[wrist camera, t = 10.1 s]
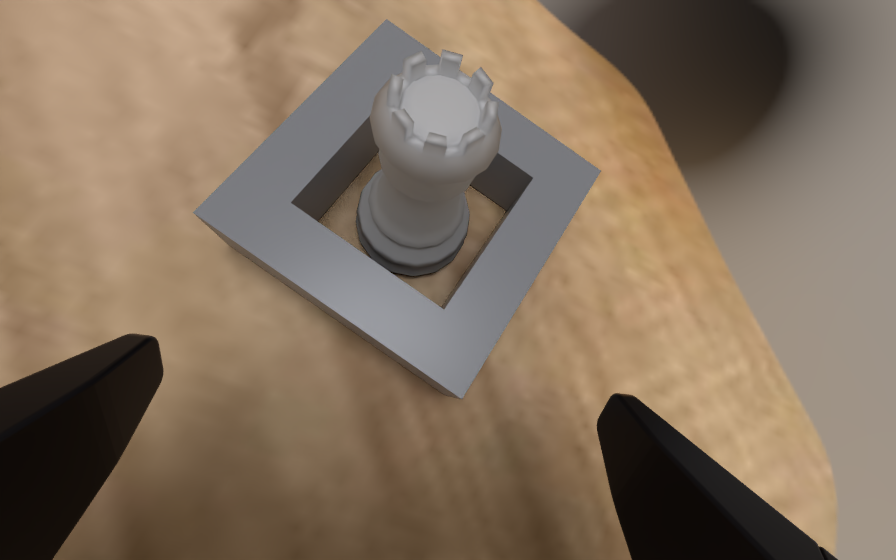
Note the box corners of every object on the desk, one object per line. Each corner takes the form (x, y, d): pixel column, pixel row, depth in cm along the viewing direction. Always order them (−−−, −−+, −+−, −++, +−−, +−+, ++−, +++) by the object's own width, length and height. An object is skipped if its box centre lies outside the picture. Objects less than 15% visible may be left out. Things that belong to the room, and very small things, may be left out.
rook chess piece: (338, 253, 16) (304, 136, 8) (381, 161, 17) (388, -16, 9) (442, 295, 16) (506, 222, 8) (477, 202, 17) (560, 63, 10)
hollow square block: (445, 395, 15) (461, 399, 12) (227, 244, 15) (192, 212, 12) (564, 203, 18) (601, 170, 15) (384, 76, 18) (386, 19, 15)
